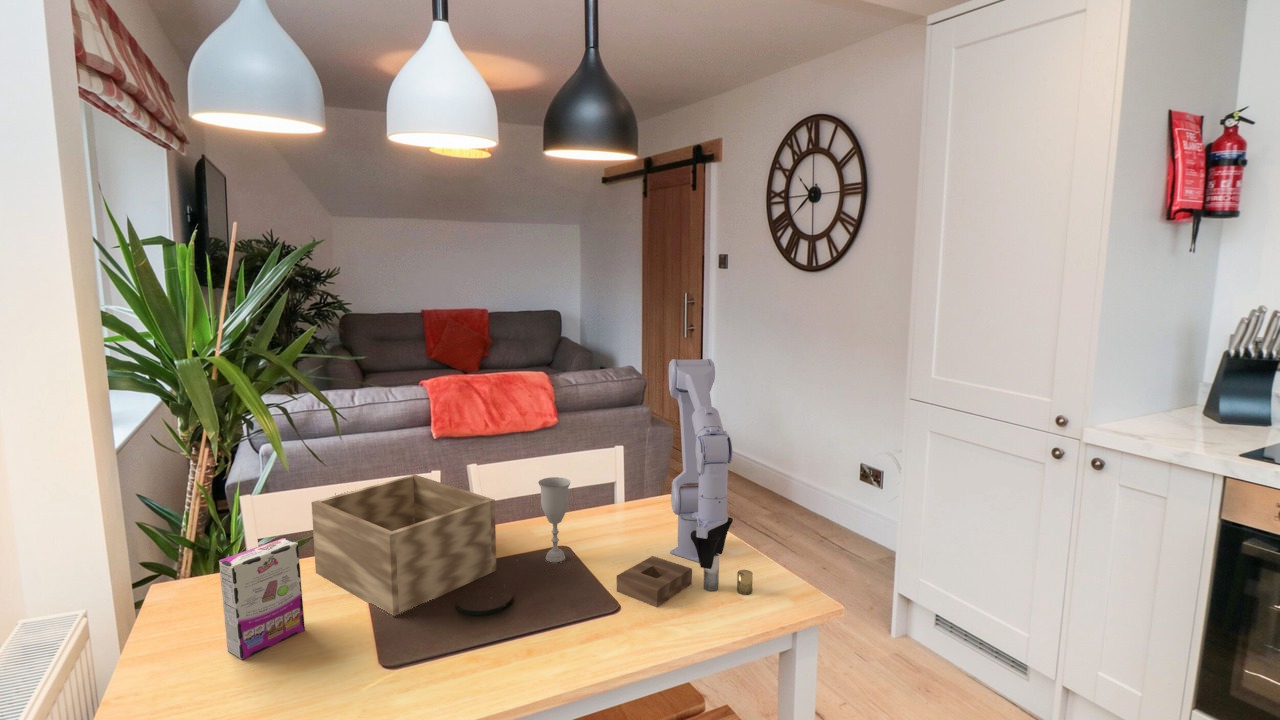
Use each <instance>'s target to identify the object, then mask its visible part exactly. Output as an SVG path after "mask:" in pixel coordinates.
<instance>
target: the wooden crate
mask: <svg viewBox="0 0 1280 720" xmlns="http://www.w3.org/2000/svg"><path fill="white" fill-rule="evenodd" d="M311 514H312V515H311V517H312V533H313V535H312V536H313V548H314V549H313V550H314V566H315V574H317V575H318V576H320V577H322V578H324V579H326V580H327V581H328V582H331V583H333V584H334V585H336V586H337V587H339V588H341V589H342V590H344V591H346V592H348V593H349V594H351V595H353V596H355V597H356V598H358V599H360V600H362V601H364V602H366V603H367V604H369V603H372V604H374V605H376V606H377V607H379V608H381V609H383V610H385V611H387V612H388V613H390V614H392V615H395V614H397V613H399V612H401V611H404V610H406V609H409V608H412V607H414V606H416V605H419V604H422V603H424V602H426V603H428V602H430V601H429V600H431V601H433V600H434V599H438V598H439V597H441V596H442V597H443V595H446V594H448V593H450V592H452V591H454V590H456V589H458V588H461V587H463V586H466V585H467V584H470V583H472V582H474V581H477V580H479V579H481V578H483V577H485V576H487V575H489V574H491V573H493V572H496V571H497V544H496V543H497V540H496V539H497V538H496V537H497V534H496V531H497V530H496V499H494V498H491V497H487V496H485V495H480V494H477V493H474V492H472V491H469V490H464V489H462V488H458V487H456V486H453V485H449V484H446V483H443V482H439V481H436V480H433V479H430V478H428V477H423V476H421V475H418V474H412V475H409V476H404V477H400V478H397V479H393V480H389V481H386V482H382V483H378V484H374V485H371V486H367V487H363V488H359V489H355V491H347V492H344V493H341V494H338V495H336V494H335V495H332V496H329V497H326V498H322V499H318V500H313V501H311ZM432 599H433V600H432ZM427 601H428V602H427ZM424 604H425V603H424ZM422 605H423V604H422Z"/></svg>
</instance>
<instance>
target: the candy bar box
mask: <svg viewBox="0 0 1280 720" xmlns="http://www.w3.org/2000/svg"><path fill="white" fill-rule="evenodd" d="M218 565H219V573H220V574H219V576H220V585H221V596H222V597H221V598H222V604H223V605H222V606H223V616H224V617H223V618H224V628H225V636H226V644H227V647H226V648H227V652H228V653H229V654H231V655H233V656H235V657H237V658H238V659H239V660H246V659H249V657H252V656H254V655H257V654H258V653H260V652H262V651H264V650H267V649H268V648H271V647H273V646H275V645H277V644H279V643H281V642H283V641H285V640H287V639H289V638H291V637H294V636H296V635H297V634H300V633H302V632H303V631H305V629H306V627H305V614H304V605H303V604H304V600H303V592H302V591H303V590H302V578H301V577H302V576H301V564H300V552H299V543H298V542H296V541H294V540H290V539H288V538H285V537H283V538H278V539H277V540H274V541H271V542H268V543H265V544H263V545H259V546H256V547H253V548H250V549H247V550H245V551H244V550H243V551H242V552H238V553H236V554H233V555H231V556H230V555H229V556H228V557H225V558H222V559H219V560H218Z"/></svg>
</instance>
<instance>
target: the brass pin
mask: <svg viewBox="0 0 1280 720" xmlns="http://www.w3.org/2000/svg"><path fill="white" fill-rule="evenodd" d="M736 575H737V577H736V578H737V579H736V581H737V583H736V592H737V593H738V594H739V595H741V596H750V595H753V594H752V593H753V579H754V578H753V575H754V574H753V572H752V571H751V570H749V569H739V570H738V571H737V574H736Z"/></svg>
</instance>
